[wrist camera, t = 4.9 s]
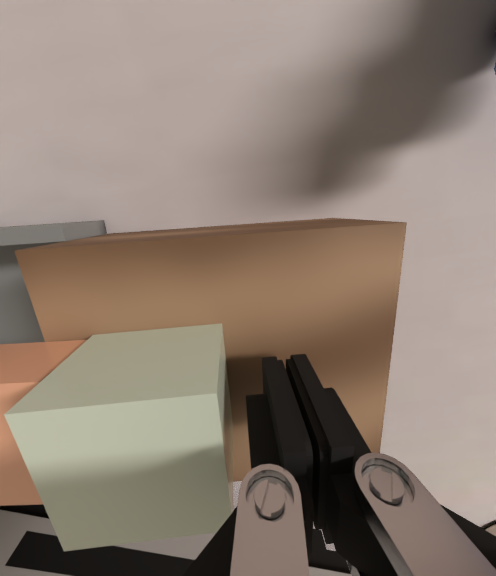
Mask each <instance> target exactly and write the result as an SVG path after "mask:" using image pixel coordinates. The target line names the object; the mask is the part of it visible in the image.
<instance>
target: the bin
mask: <svg viewBox="0 0 496 576" xmlns="http://www.w3.org/2000/svg"><path fill="white" fill-rule="evenodd" d="M105 234H107V232H106V227H105V223H104V220H103V221H87V222H72V223H57V224H43V225H28V226H13V227H0V344H16V343H35V342H45V340H44V337H43V334H42V331H41V328H40V325H39V322H38V319H37V316H36V314H35V311H34V308H33V305H32V302H31V299H30V296H29V293H28V290H27V287H26V284H25V281H24V278H23V275H22V272H21V269H20V266H19V263H18V260H17V257H16V254H15V252H14V251H15V250H20V249H26V248H32V247H37V246H43V245H49V244H54V243H60V242H65V241H71V240H77V239H82V238H88V237H93V236H99V235H105Z"/></svg>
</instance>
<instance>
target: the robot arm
mask: <svg viewBox="0 0 496 576" xmlns="http://www.w3.org/2000/svg"><path fill="white" fill-rule="evenodd" d="M262 375H263V394H255V395H246V409H247V423H248V436H249V449H250V461H251V471H249V472H248V473H247V474H246V476H245V477H244V479H243V481H242V482H241V486H240V490H239V497H238V506H237V507H236V508H235V510H234V511H233V512H232V514H231V515H230V516H229V517H228V519H227V520H226V521H225V522H224V524H223V525H222V526H221V528H220V529H219V530H218V531H217V533H216V534H215V535H214V536H213V538H212V539H211V540H210V541H209V543H208V544H207V545H206V547H205V548H204V549H203V550H202V552H201V553H200V554H199V555H198V557H197V558H196V559H195V561H194V562H193V563H192V564H191V566H190V567H189V568H188V569H187V571H186V572H185V573H184V575H183V576H310V575H309V566H308V562H309V560H310V558H311V555H312V534H313V522H314V526H315V528H316V530H319V529H322V531H323V535H324V538H325V542H326V544H331V543H334V546H335V549H336V552H337V553H339V554H340V555H341V556H342V557H343V558H344V559H346V560H347V563H348V566H349V569H350V572H351V575H352V576H496V524H495V525H493V526H491V527H488V528H487V529H485V530H484V529H482V528H481V527H479V526H477V525H475V524H473V523H472V522H470V521H468V520H466V519H465V518H463V517H461V516H459V515H458V514H456V513H454V512H452V511H451V510H449V509H447V508H445V507H444V506H442V505H440V504H439V503H438V502H437V500H436V499H435V498H434V497H433V496H432V495H431V493H430V492H429V491H428V490H427V489H426V488H425V486H424V485H423V484H422V483H421V482H420V481H419V479H418V478H417V477H416V476H415V475H414V474H413V473H412V472H411V471H410V470H409V469H408V468H407V467H406V466H405V465H404V464H403V463H401V462H400V461H398V460H397V459H395V458H393V457H390V456H388V455H386V454H381V453H372V452H371V451H370V449H369V447H368V446H367V444H366V442H365V440H364V439H363V437H362V435H361V434H360V432H359V430H358V428H357V427H356V425H355V423H354V422H353V420H352V418H351V417H350V415H349V413H348V411H347V410H346V408H345V406H344V405H343V403H342V401H341V399H340V398H339V396H338V394H337V393H336V391H335V390H334V389H333V388H332V387H331V388H323V386H322V384H321V382H320V380H319V378H318V376H317V374H316V372H315V371H314V369H313V367H312V365H311V363H310V361H309V359H308V357H307V355H306V354H296V355H291V356H290V359H286V369H285V366H284V363H283V361H282V360H277V357H276V356H273V357H262Z"/></svg>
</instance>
